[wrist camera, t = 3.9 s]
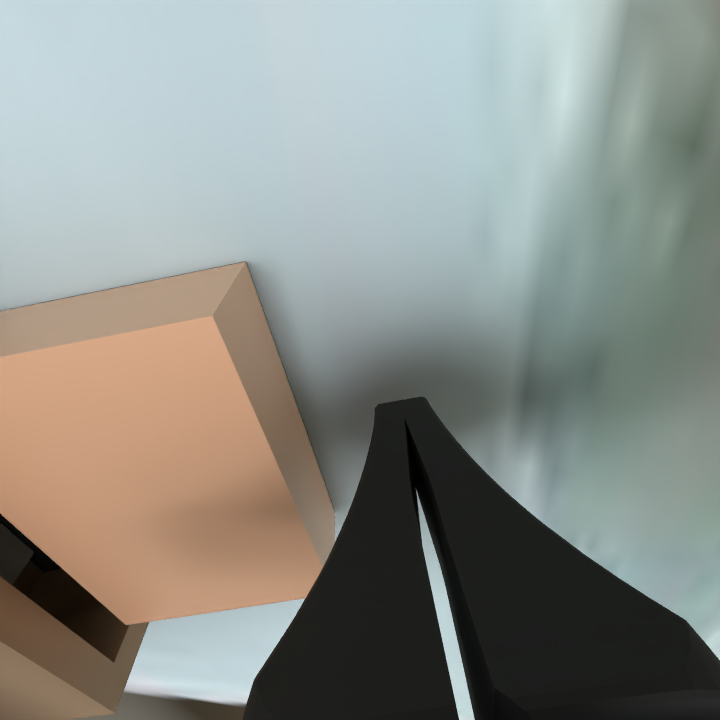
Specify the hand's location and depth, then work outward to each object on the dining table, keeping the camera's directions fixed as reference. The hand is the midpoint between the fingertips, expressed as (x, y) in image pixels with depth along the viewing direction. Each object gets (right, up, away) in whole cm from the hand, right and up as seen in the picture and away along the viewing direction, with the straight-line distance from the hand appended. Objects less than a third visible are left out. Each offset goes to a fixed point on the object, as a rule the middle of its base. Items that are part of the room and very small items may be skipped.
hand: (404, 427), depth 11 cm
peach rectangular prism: (-7, 0, +2) cm, 7 cm away
